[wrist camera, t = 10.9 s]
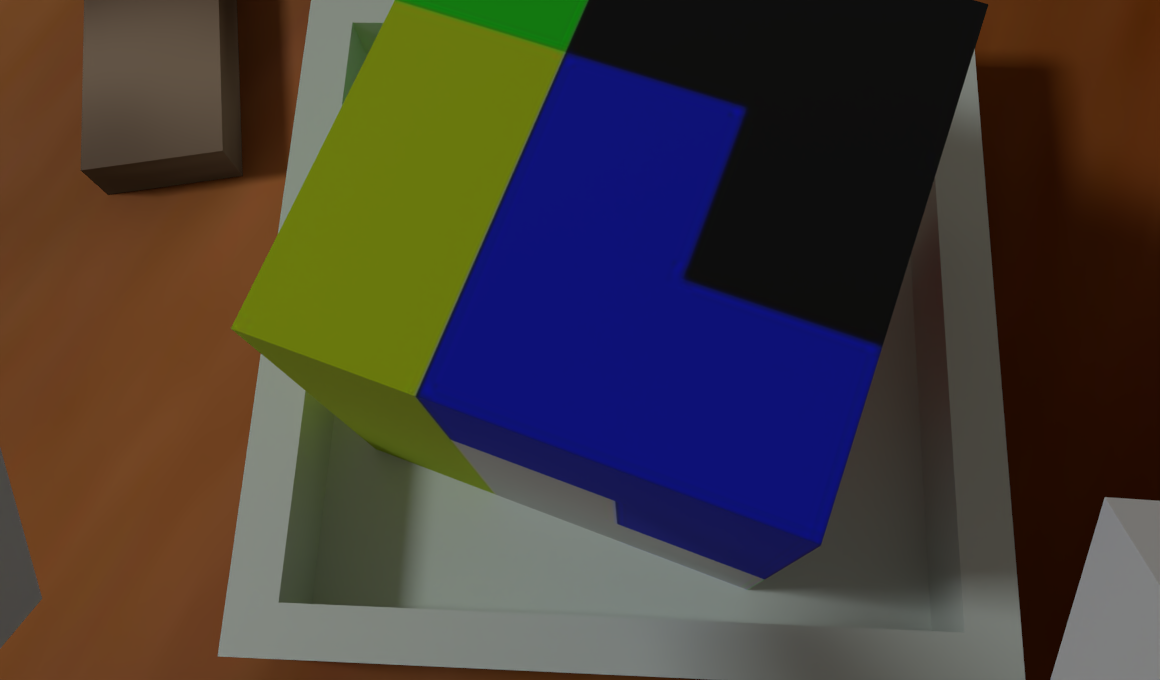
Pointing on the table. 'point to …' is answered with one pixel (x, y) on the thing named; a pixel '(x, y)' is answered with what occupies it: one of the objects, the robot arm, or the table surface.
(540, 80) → the puzzle toy
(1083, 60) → the table surface
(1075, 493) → the table surface
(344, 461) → the white square tray
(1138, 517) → the robot arm
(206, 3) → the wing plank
